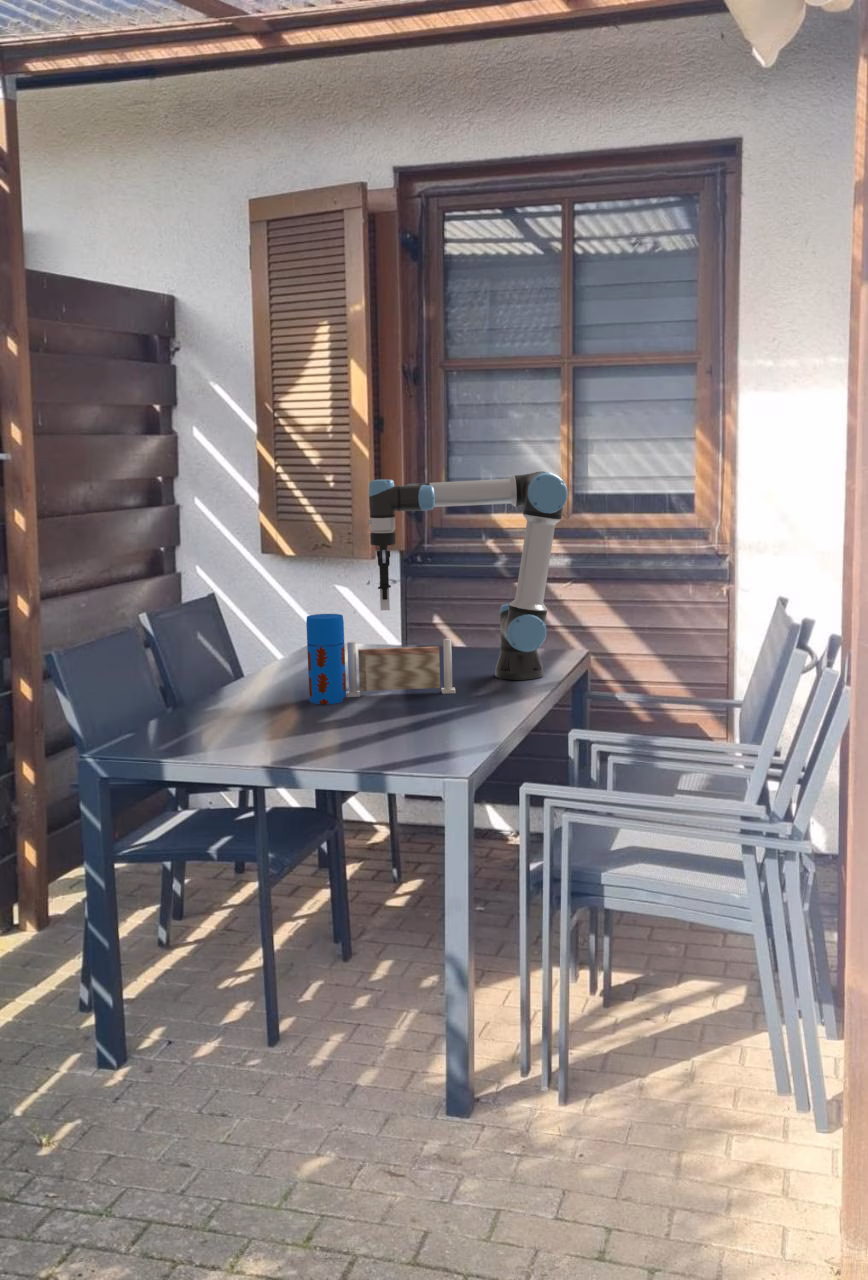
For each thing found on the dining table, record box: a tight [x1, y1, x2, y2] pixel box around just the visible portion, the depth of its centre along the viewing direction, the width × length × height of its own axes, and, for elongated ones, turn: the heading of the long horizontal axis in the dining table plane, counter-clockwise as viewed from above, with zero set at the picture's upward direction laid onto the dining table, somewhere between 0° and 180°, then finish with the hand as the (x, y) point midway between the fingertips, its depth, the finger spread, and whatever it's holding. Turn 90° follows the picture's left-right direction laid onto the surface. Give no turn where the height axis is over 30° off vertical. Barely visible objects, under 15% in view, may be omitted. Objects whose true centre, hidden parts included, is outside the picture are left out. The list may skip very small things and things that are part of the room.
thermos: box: [305, 613, 347, 705], centre depth 403 cm, size 11×11×25 cm
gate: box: [357, 645, 441, 692], centre depth 411 cm, size 24×2×12 cm, turn 93°
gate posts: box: [346, 638, 457, 698], centre depth 411 cm, size 32×4×16 cm, turn 93°
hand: (385, 609), depth 416 cm, fingers closed
